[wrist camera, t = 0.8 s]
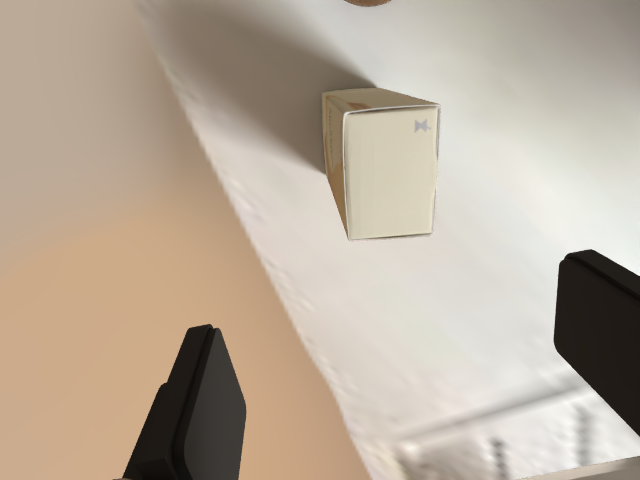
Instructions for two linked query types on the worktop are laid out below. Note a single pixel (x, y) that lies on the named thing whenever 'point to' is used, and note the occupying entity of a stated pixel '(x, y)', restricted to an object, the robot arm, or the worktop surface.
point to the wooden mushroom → (367, 2)
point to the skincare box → (382, 161)
